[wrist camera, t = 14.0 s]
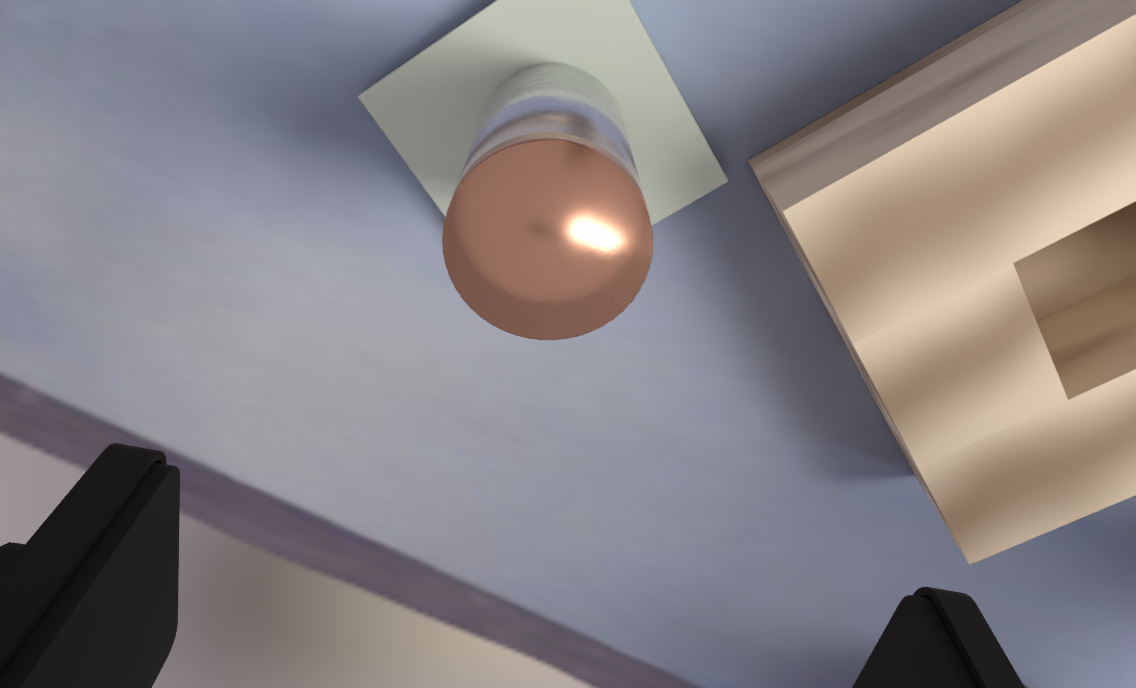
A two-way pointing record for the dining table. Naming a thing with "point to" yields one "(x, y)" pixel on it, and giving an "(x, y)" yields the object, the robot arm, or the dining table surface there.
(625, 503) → the dining table surface
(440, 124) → the pad
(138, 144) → the dining table surface
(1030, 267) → the housing
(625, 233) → the copper topped silver cylinder
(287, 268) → the dining table surface
